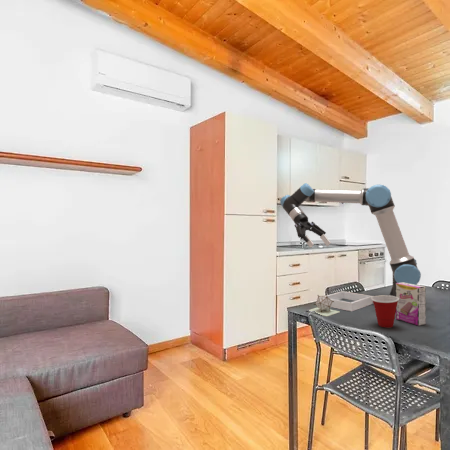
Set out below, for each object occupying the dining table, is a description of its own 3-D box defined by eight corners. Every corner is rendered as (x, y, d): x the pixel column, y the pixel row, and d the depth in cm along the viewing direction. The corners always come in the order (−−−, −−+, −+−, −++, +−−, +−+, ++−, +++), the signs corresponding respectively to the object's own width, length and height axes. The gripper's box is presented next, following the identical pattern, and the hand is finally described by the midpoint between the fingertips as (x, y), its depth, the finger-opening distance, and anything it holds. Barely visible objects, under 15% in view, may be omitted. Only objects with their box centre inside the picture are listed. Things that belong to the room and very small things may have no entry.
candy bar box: (395, 319, 155) (394, 283, 154) (402, 317, 157) (402, 281, 156) (418, 326, 145) (418, 287, 144) (426, 324, 147) (426, 286, 146)
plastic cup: (366, 322, 151) (366, 295, 151) (390, 321, 152) (389, 294, 152) (379, 330, 140) (379, 300, 140) (404, 329, 141) (404, 300, 141)
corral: (373, 303, 183) (373, 296, 183) (351, 311, 169) (351, 303, 168) (342, 298, 196) (342, 291, 196) (320, 304, 182) (320, 297, 182)
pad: (339, 312, 167) (339, 311, 167) (326, 316, 160) (326, 315, 160) (318, 307, 176) (318, 306, 176) (305, 311, 169) (305, 310, 169)
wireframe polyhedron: (327, 319, 167) (335, 306, 161) (310, 312, 169) (317, 299, 163) (329, 306, 174) (337, 293, 168) (313, 300, 176) (320, 286, 170)
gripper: (310, 221, 203) (331, 248, 191) (279, 222, 189) (300, 251, 177) (317, 212, 199) (339, 239, 187) (286, 212, 184) (308, 241, 172)
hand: (320, 245), depth 182 cm, fingers open, 13 cm apart
